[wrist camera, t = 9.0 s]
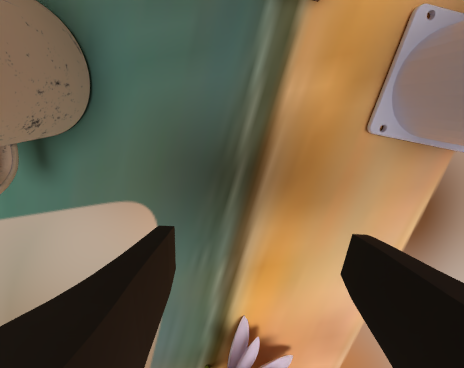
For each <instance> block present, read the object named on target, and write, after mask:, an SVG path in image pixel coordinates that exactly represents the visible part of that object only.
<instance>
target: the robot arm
mask: <svg viewBox="0 0 464 368" xmlns="http://www.w3.org/2000/svg"><path fill="white" fill-rule="evenodd" d="M427 13H429V14H430V18H429V20H428V19H427ZM382 125H383V129H382V131H380V127H381V126H382ZM367 130H368V132H369V133H372V134H376V135H381V136H386V137H391V138H396V139H401V140H406V141H411V142H415V143H420V144H425V145H430V146H435V147H440V148H445V149H450V150H454V151H460V152H464V13H461V12H457V11H453V10H449V9H445V8H442V7H438V6H434V5H430V4H422V5H420V6H418V7H416V8H415V9H414V11H413V12H412V14H411V17H410V20H409V22H408V25H407V27H406V30H405V32H404V35H403V37H402V40H401V42H400V45H399V47H398V50H397V52H396V55H395V57H394V60H393V63H392V65H391V68H390V70H389V73H388V75H387V78H386V80H385V83H384V85H383V88H382V90H381V93H380V95H379V98H378V100H377V103H376V106H375V108H374V111H373V113H372V116H371V118H370V121H369V123H368V126H367ZM175 269H176V263H175V229H174V226H158V227H156V228H155V229H154V230H152V231H151V232H150V233H149V234H147V235H146V236H145V237H144V238H142V239H141V240H140V241H139V242H137V243H136V244H135V245H133V246H132V247H131V248H129V249H128V250H127V251H125V252H124V253H123V254H121V255H120V256H119V257H117V258H116V259H114V260H113V261H112V262H110V263H109V264H107V265H106V266H104V267H103V268H102V269H100V270H98V271H97V272H96V273H94V274H93V275H91V276H90V277H88V278H86V279H85V280H83V281H82V282H80V283H78V284H77V285H75V286H74V287H72V288H70V289H68V290H67V291H65V292H63V293H62V294H60V295H58V296H57V297H55V298H53V299H51V300H50V301H48V302H46V303H44V304H42V305H40V306H38V307H36V308H35V309H33V310H31V311H29V312H27V313H25V314H23V315H21V316H19V317H17V318H15V319H14V320H12V321H10V322H8V323H6V324H4V325H2V326H1V327H0V368H144V367H145V364H146V361H147V357H148V355H149V351H150V349H151V346H152V343H153V340H154V338H155V335H156V332H157V329H158V326H159V323H160V321H161V318H162V315H163V312H164V309H165V306H166V303H167V301H168V298H169V295H170V291H171V287H172V283H173V278H174V274H175ZM341 276H342V279H343V281H344V283H345V286H346V288H347V290H348V292H349V295H350V297H351V299H352V300H353V302H354V304H355V306H356V307H357V309H358V311H359V312H360V314H361V316H362V317H363V319H364V321H365V322H366V324H367V326H368V327H369V329H370V330H371V332H372V334H373V335H374V337H375V339H376V340H377V342H378V343H379V345H380V347H381V348H382V350H383V352H384V353H385V355H386V357H387V358H388V360H389V362H390V363H391V365H392V367H393V368H464V283H462V282H460V281H458V280H456V279H454V278H452V277H450V276H448V275H446V274H444V273H442V272H440V271H438V270H436V269H434V268H432V267H431V266H429V265H427V264H425V263H423V262H421V261H419V260H417V259H415V258H413V257H411V256H409V255H408V254H406V253H404V252H402V251H400V250H398V249H396V248H394V247H392V246H390V245H388V244H386V243H384V242H382V241H380V240H378V239H376V238H374V237H371V236H369V235H359V234H352V238H351V241H350V244H349V248H348V251H347V254H346V258H345V261H344V264H343V268H342V271H341Z"/></svg>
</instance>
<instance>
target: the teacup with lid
mask: <svg viewBox="0 0 464 368" xmlns="http://www.w3.org/2000/svg"><path fill="white" fill-rule="evenodd" d="M89 94H90V79H89V72H88V68H87V64H86V61H85V58H84V56H83V53H82V51H81V49H80V47H79V45H78V43H77V42H76V40H75V38H74V37H73V35H72V34H71V32H70V31H69V30H68V28H67V27H66V26H65V25H64V24H63V23H62V21H61V20H60V19H59V18H58V17H57V16H55V15H54V14H53V13H52V12H51V11H50V10H48V9H47V8H46V7H44V6H43V5H42V4H40V3H39V2H37V1H35V0H0V194H1V193H2V192H3V191H4V190H5V189H6V188H7V187H8V186H9V185H10V183H11V182H12V180H13V179H14V177H15V175H16V172H17V169H18V162H19V156H18V148H17V143H20V142H25V141H30V140H35V139H40V138H45V137H50V136H54V135H58V134H60V133H63V132H65V131H67V130H68V129H70V128H71V127H72V126H74V125H75V124H76V123H77V122H78V120H79V119H80V118H81V116H82V115H83V113H84V111H85V109H86V106H87V104H88V100H89Z"/></svg>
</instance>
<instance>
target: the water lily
mask: <svg viewBox="0 0 464 368" xmlns="http://www.w3.org/2000/svg"><path fill="white" fill-rule="evenodd" d="M248 341H249V325H248V320H247V319H246V318H245V315H244V316H243V318H242V319H241V321H240V323H239V326H238V328H237V330H236V333H235V336H234V339H233V342H232V345H231V349H230V353H229V359H228V365H227V368H251V366H252V365H253V363H254V361H255V359H256V357H257V354H258V351H259V346H260V340H259V337H257V338H256V339H255V340H254V341H253V342H252V343H251V344H250V345H249V347H248ZM247 347H248V348H247ZM292 358H293V355H286V356H282V357H279V358H276V359H274V360H271V361H269V362H267V363H266V364H264V365H262V366H261V367H259V368H288V366H289V365H290V363H291V361H292ZM205 368H210V367H209V366H206V367H205Z"/></svg>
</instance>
